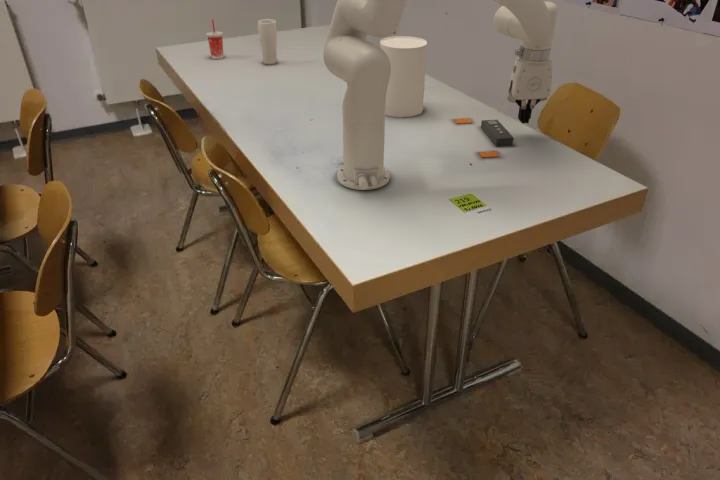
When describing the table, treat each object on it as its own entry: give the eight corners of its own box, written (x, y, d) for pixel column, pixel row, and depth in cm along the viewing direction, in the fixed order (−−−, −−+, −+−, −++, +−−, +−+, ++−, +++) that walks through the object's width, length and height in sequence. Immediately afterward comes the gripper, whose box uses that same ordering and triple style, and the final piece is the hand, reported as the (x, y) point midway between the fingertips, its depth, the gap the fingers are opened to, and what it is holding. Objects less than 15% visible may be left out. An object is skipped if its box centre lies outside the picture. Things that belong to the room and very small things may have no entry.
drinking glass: (258, 61, 217) (254, 20, 208) (275, 59, 219) (272, 18, 211) (264, 66, 211) (260, 24, 203) (281, 64, 214) (278, 22, 206)
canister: (371, 104, 178) (372, 38, 167) (411, 99, 182) (414, 34, 171) (388, 119, 168) (391, 50, 157) (430, 113, 172) (435, 45, 161)
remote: (512, 145, 153) (514, 136, 152) (496, 146, 152) (497, 137, 151) (496, 126, 164) (497, 118, 162) (480, 127, 163) (481, 119, 162)
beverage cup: (208, 55, 223) (203, 18, 215) (224, 54, 224) (220, 17, 217) (210, 60, 218) (204, 21, 210) (226, 58, 219) (221, 20, 212)
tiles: (499, 157, 147) (499, 155, 147) (482, 158, 146) (482, 157, 146) (469, 119, 168) (469, 118, 168) (453, 120, 168) (454, 119, 168)
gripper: (511, 59, 143) (502, 128, 153) (568, 56, 144) (555, 125, 155) (501, 51, 149) (492, 118, 159) (556, 48, 151) (543, 115, 161)
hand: (523, 121), depth 157 cm, fingers closed
